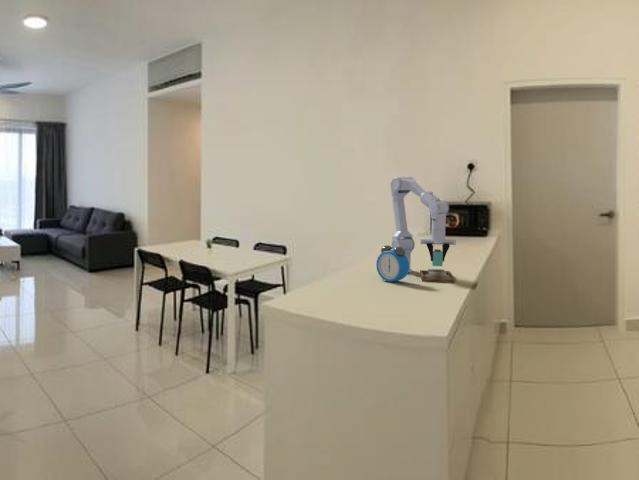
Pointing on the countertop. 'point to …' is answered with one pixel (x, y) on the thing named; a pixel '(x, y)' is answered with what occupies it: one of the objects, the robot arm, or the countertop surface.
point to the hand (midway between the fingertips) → (437, 261)
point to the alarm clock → (392, 264)
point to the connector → (437, 257)
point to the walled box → (436, 275)
